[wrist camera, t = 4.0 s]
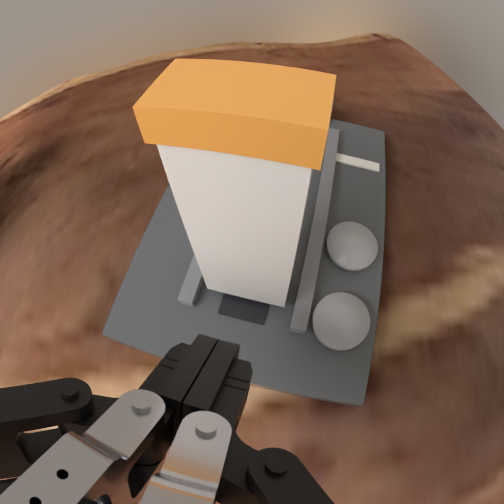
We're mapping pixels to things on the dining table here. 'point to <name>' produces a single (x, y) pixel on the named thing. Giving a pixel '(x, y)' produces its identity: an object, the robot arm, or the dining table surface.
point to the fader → (240, 163)
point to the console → (300, 289)
